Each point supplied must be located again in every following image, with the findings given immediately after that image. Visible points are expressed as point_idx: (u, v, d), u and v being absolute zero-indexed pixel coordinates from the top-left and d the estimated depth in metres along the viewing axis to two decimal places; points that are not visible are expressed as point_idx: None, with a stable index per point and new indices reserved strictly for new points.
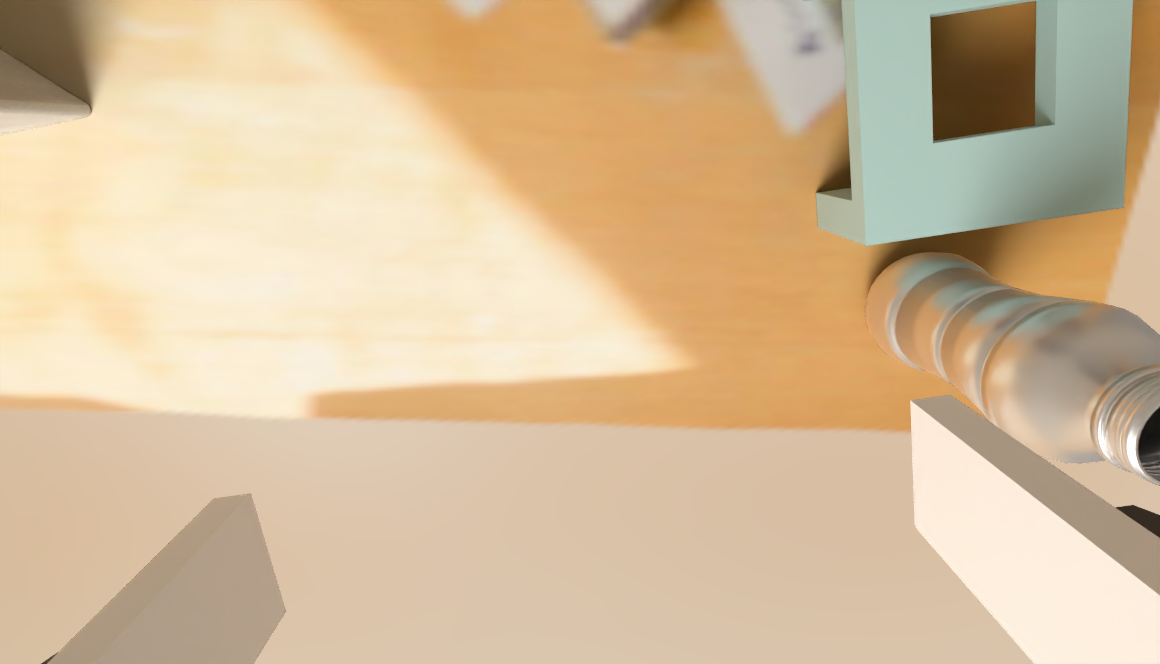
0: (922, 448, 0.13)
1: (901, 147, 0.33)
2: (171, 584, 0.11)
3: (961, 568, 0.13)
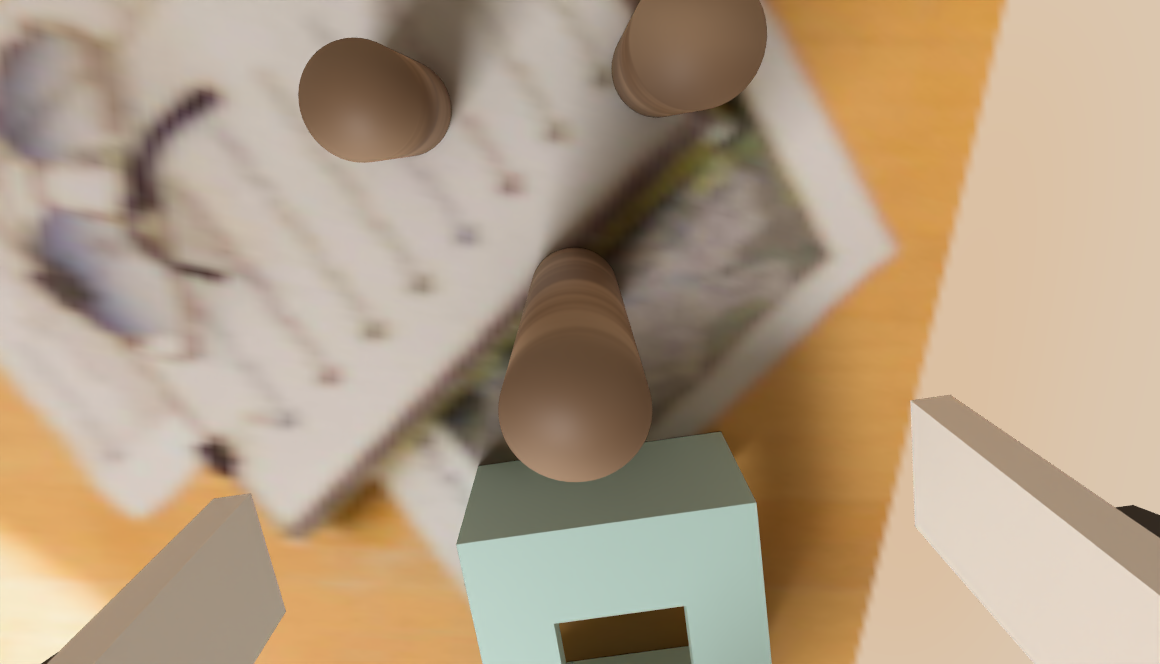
0: (922, 448, 0.13)
1: None
2: (171, 584, 0.11)
3: (961, 568, 0.13)
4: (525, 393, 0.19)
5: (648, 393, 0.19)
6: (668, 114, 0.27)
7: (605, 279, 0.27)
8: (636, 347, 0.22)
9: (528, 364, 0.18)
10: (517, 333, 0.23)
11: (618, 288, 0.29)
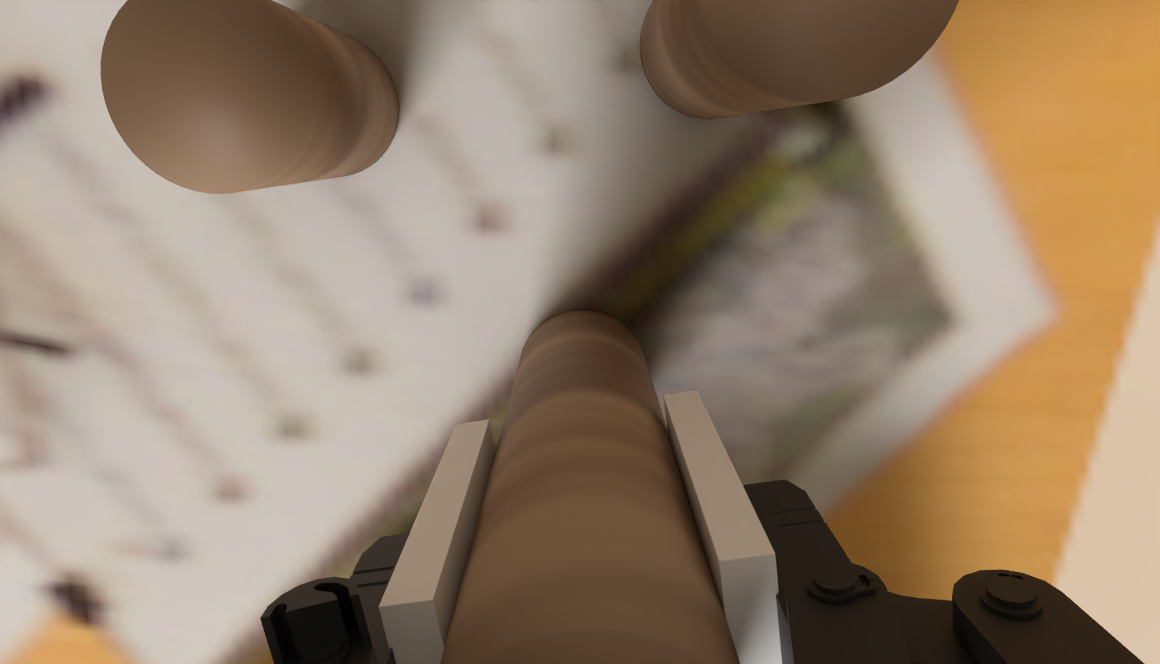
0: (669, 435, 0.16)
1: None
2: (472, 481, 0.13)
3: None
4: None
5: None
6: (739, 112, 0.16)
7: (634, 378, 0.17)
8: (705, 554, 0.11)
9: None
10: (482, 506, 0.13)
11: (652, 383, 0.19)
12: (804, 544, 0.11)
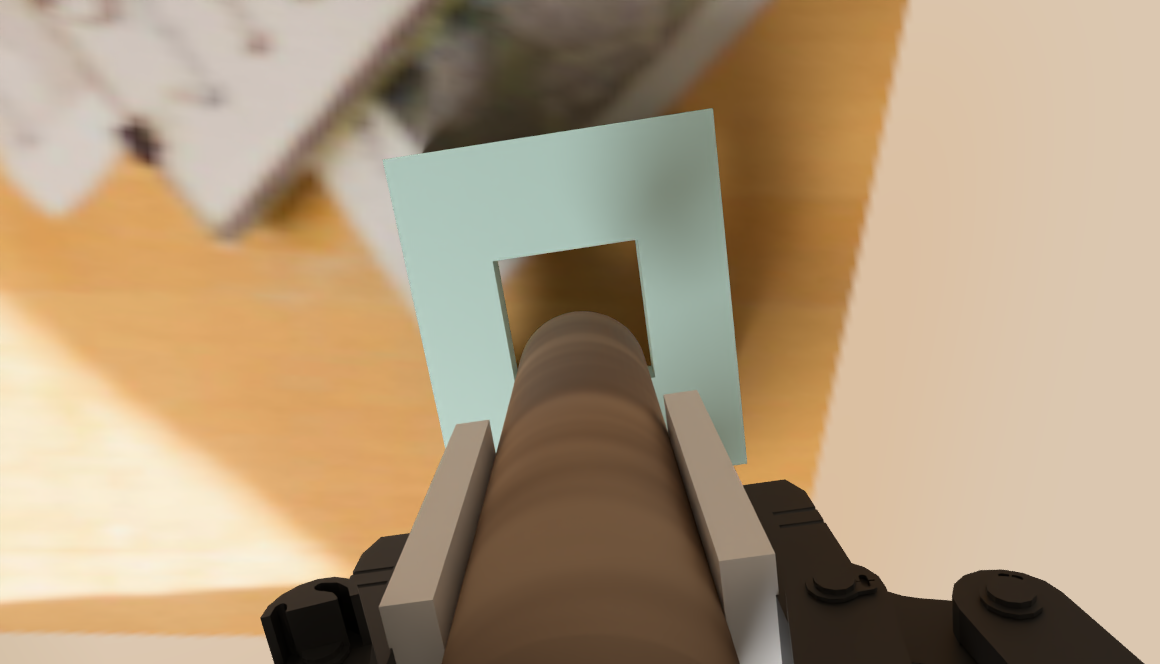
0: (669, 435, 0.16)
1: (484, 401, 0.29)
2: (472, 481, 0.13)
3: None
4: None
5: None
6: None
7: (634, 380, 0.17)
8: None
9: None
10: (482, 508, 0.13)
11: (652, 384, 0.19)
12: (805, 544, 0.11)
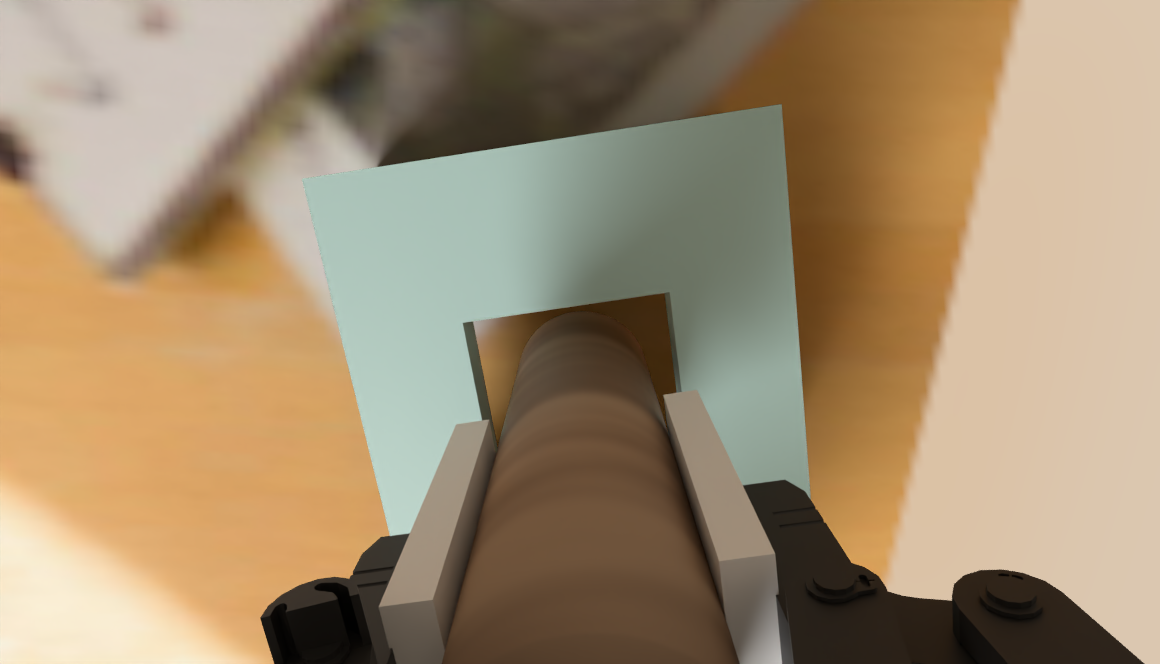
0: (669, 435, 0.16)
1: None
2: (471, 481, 0.13)
3: None
4: None
5: None
6: None
7: (634, 380, 0.17)
8: None
9: None
10: (482, 508, 0.13)
11: (652, 384, 0.19)
12: (804, 545, 0.11)
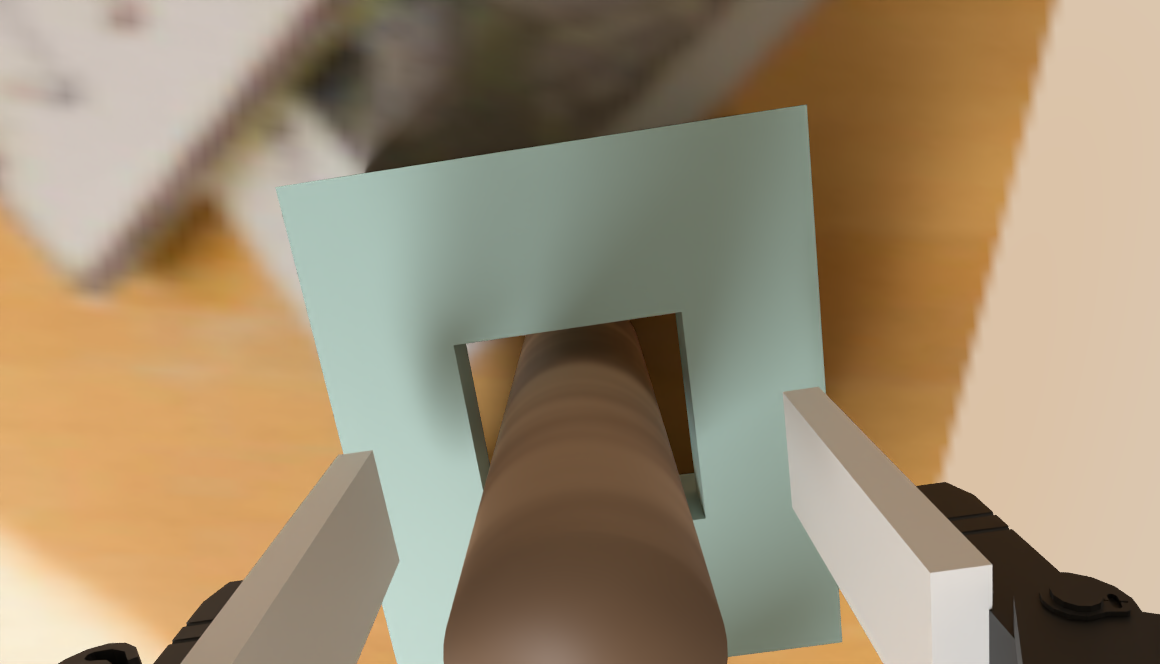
0: (791, 435, 0.15)
1: (444, 551, 0.19)
2: (328, 522, 0.13)
3: (818, 542, 0.14)
4: (492, 626, 0.10)
5: (720, 626, 0.10)
6: None
7: (627, 354, 0.19)
8: (684, 494, 0.13)
9: (496, 577, 0.10)
10: (492, 458, 0.15)
11: (643, 360, 0.21)
12: (998, 553, 0.10)
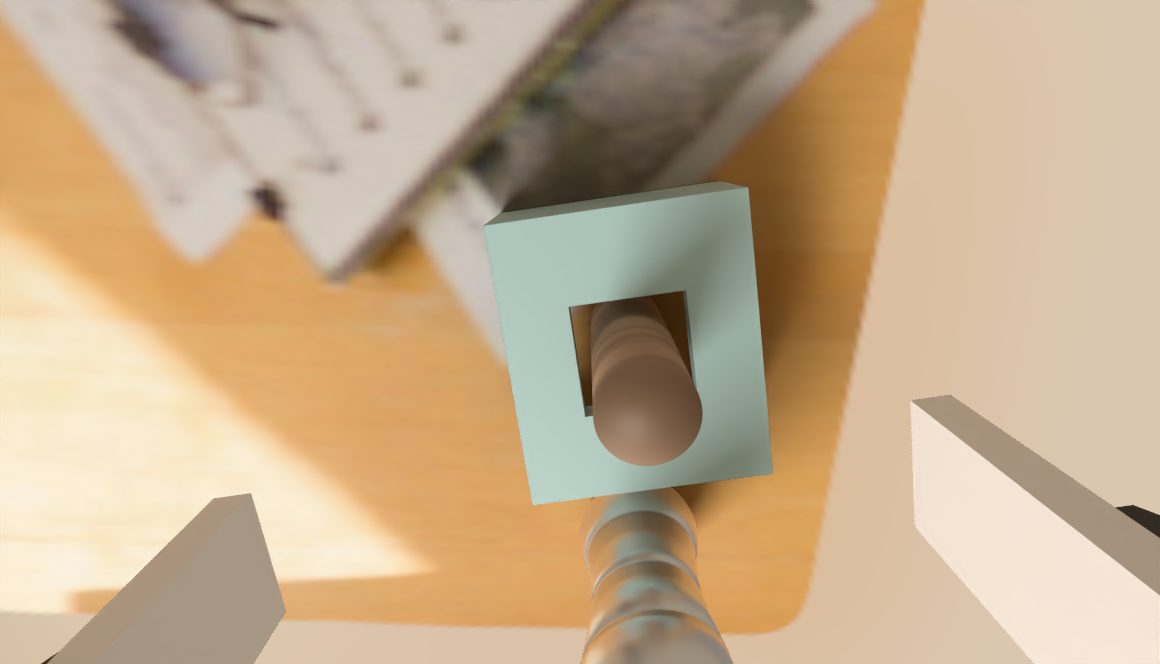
0: (922, 448, 0.13)
1: (557, 419, 0.35)
2: (171, 584, 0.11)
3: (961, 568, 0.13)
4: (612, 401, 0.26)
5: (700, 402, 0.26)
6: None
7: (656, 315, 0.35)
8: None
9: (615, 381, 0.26)
10: (595, 357, 0.31)
11: None
12: None
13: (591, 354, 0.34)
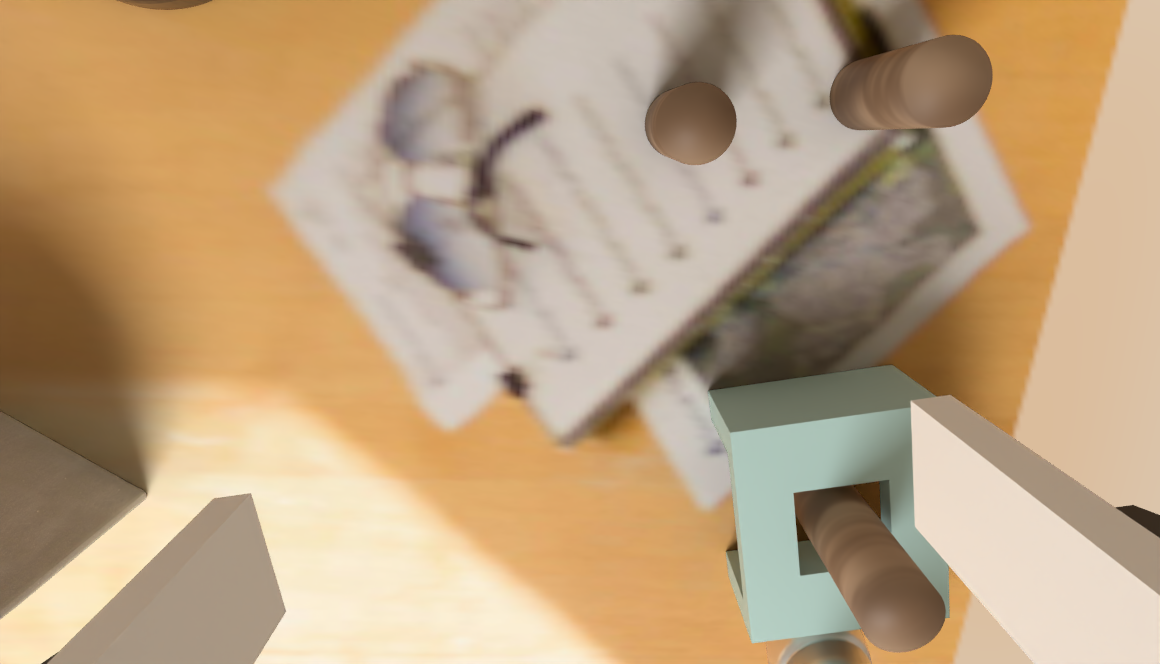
0: (922, 448, 0.13)
1: (776, 577, 0.43)
2: (171, 584, 0.11)
3: (961, 568, 0.13)
4: (877, 607, 0.34)
5: (944, 607, 0.34)
6: (891, 128, 0.39)
7: (856, 491, 0.43)
8: None
9: (881, 593, 0.34)
10: (830, 545, 0.39)
11: None
12: None
13: (811, 530, 0.42)
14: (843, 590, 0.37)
